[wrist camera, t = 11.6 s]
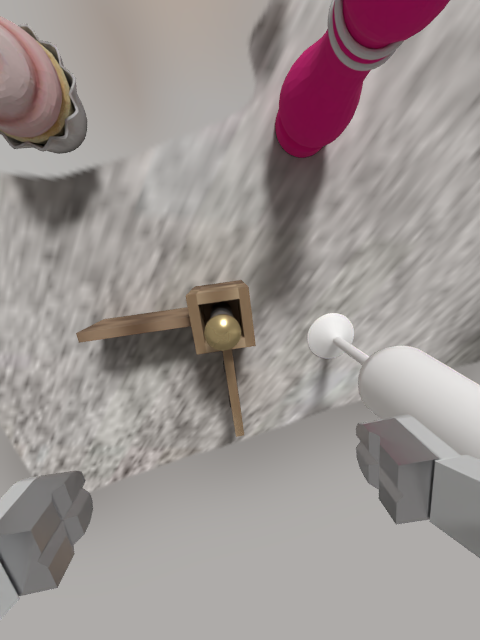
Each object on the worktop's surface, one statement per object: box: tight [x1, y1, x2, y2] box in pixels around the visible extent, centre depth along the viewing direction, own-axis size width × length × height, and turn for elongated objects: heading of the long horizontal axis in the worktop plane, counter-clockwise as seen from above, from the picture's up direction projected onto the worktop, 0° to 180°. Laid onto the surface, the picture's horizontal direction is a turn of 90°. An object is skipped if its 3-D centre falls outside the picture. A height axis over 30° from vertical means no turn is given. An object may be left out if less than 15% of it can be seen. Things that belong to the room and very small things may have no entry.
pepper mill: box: [275, 0, 450, 158], centre depth 17 cm, size 7×7×20 cm
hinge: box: [76, 280, 256, 437], centre depth 29 cm, size 18×18×8 cm
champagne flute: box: [308, 313, 480, 460], centre depth 22 cm, size 7×7×24 cm
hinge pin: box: [204, 302, 241, 351], centre depth 24 cm, size 3×3×8 cm
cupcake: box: [0, 16, 87, 153], centre depth 20 cm, size 9×9×10 cm
